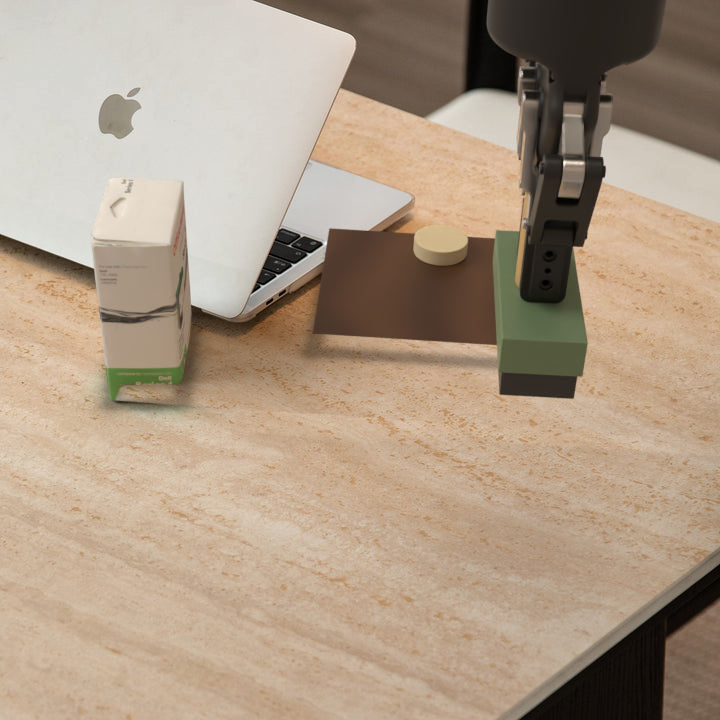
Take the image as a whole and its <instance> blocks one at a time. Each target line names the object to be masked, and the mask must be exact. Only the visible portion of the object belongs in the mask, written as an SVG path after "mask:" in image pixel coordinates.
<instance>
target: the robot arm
mask: <svg viewBox="0 0 720 720" xmlns="http://www.w3.org/2000/svg"><path fill="white" fill-rule="evenodd" d="M666 5H667V0H488V1H487V13H486V29H487V32H488V34H489V36H490V38H491V39H492V41H493V42H494V43H495V44H496V45H497V46H498V47H500V48H501V49H502V50H504V51H505V52H506V53H509V54H510V55H513V57H517V58H518V59H521V60H524V63H527V65H526V66H524V65H520V66H519V70H518V78H517V88H516V89H517V103H518V107H519V115H518V123H517V131H516V154H517V156H518V161H520V162H519V163H520V164H519V165H520V166H519V175H518V176H519V179H518V189H520V195H521V196H524V197H525V192H527V193H528V201H527V210H526V218H523V229H525V243H524V251H523V259H522V268H521V276H520V284H519V288H520V296H521V298H522V299H523V300H524V301H527V302H540V303H559V302H561V301H563V300H564V298H565V296H566V289H567V283H568V276H569V269H570V262H571V255H572V248H573V249H574V248H584V246H585V242H586V240H587V239H588V235H589V234H588V232H589V228H590V225H591V221H592V218H593V214H594V211H595V207H596V204H597V201H598V197H599V194H600V190H601V187H602V183H603V179H605V178H606V174H607V166H606V165H605V161H604V157H603V156H602V150H603V149H602V148H603V140H604V139H605V137H606V136H607V135H608V133H609V132H610V131H611V130H610V129H611V123H612V116H613V108H614V107H613V106H614V95H613V93H606V92H607V85H608V72H609V71H611V70H613V69H615V68H618V67H621V66H623V65H625V66H628V65H631V64H635V63H637V62H639V61H641V60H643V59H644V58H646V57H647V56H649V55H650V54H651V53H652V52H654V50H655V49H656V47H657V46H658V44H659V42H660V40H661V39H660V38H661V35H662V29H663V28H662V27H663V22H664V17H665V13H666V12H665V10H666ZM524 197H522V205H521V214H520V222H519V230H518V231H519V238H518V247H517V257H518V249H519V240H520V231H521V223H522V214H523V206H524Z"/></svg>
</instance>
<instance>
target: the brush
mask: <svg viewBox="0 0 720 720" xmlns="http://www.w3.org/2000/svg"><path fill="white" fill-rule="evenodd" d="M523 198H524V206H523V214H522V223H521V231H520V240H519V249H518V257H517V247H518V238H519V230H517V231H516V230H504V229H503V230H500V229H497V230H495V233H494V234H495V235H494V238H495V244H494V253H493V278H494V298H495V318H496V337H497V345H496V355H497V374H498V393H499V395H500V396H512V397H514V396H515V397H532V398H549V399H550V398H551V399H565V400H566V399H568V400H569V399H570V400H574V399H575V393H576V388H577V382H578V377H579V378H582V377H583V374H584V371H585V370H584V369H585V363H586V358H587V357H586V356H587V350H588V346H589V345H588V344H589V342H588V336H587V330H586V329H587V328H586V324H585V323H586V322H585V316H584V310H583V303H582V296H581V289H580V284H579V277H578V270H577V263H576V256H575V251H574V247H573V248H572V255H571V262H570V269H569V276H568V283H567V289H566V296H565V298H564V300H563V301H561V302H559V303H540V302H527V301H524V300H523V299H522V298H521V296H520V288H519V284H520V276H521V268H522V259H523V251H524V243H525V229H523V218H526V210H527V201H528V193H527V192H525V196H524V197H523Z"/></svg>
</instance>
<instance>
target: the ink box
mask: <svg viewBox="0 0 720 720" xmlns="http://www.w3.org/2000/svg"><path fill="white" fill-rule="evenodd" d="M106 185H107V186H106V188H105V190H104V194H103V198H102V202H101V203H100V205H99V209H98V214H97V217H96V218H95V221H94V224H93V228H92V230H91V234H90V235H91V237H92V238H91V243H90V244H91V253H92V261H93V271H94V281H95V287H96V296H97V304H98V314H99V320H100V321H99V323H100V332H101V340H102V341H101V342H102V348H103V349H102V350H103V357H104V358H103V359H104V367H105V375H106V382H107V390H108V396H109V399H110V401H112V402H119V400H116V399H117V397H118V395H119V392H120V388H121V386H165V385H166V386H167V385H171V386H172V385H180V384H181V383H182V381H183V378H184V375H185V368H186V362H187V358H188V357H187V356H188V350H189V345H190V344H189V343H190V336H191V328H192V315H193V314H192V313H193V312H192V298H191V297H192V296H191V281H190V280H191V279H190V266H189V251H188V236H187V234H188V233H187V219H186V205H185V187H184V181H183V180H177V179H176V180H174V179H152V178H138V177H120V176H119V177H118V176H117V177H113V178H110V179H108V181H107V184H106Z"/></svg>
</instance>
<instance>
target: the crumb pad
mask: <svg viewBox="0 0 720 720" xmlns="http://www.w3.org/2000/svg"><path fill="white" fill-rule="evenodd" d="M414 234H415V236H414V248H413V251H414V254H415V256H416V257H417V258H418V259H420V260H421V261H423V262H425V263H428V264H432V265H438V266H448V265H454V264H457V263H459V262H461V261H463V260H464V259H465V257H466V255H467V248H468V237H469V236H467V234H466V233H465V231H463V230H461V229H460V228H458V227H455V226H452V225H449V224H430V225H426V226H422V227H421V228H419V229H418V230H417V231H416V232H414Z"/></svg>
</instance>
